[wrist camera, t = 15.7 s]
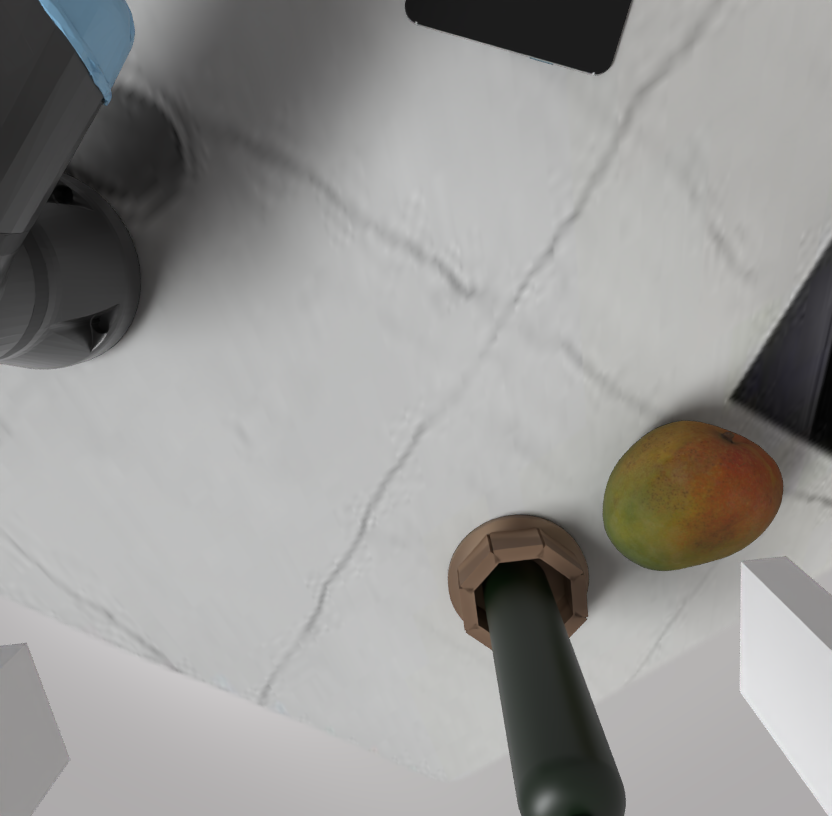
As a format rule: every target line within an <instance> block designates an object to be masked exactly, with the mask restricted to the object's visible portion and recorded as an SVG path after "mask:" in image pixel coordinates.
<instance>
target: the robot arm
mask: <svg viewBox="0 0 832 816" xmlns="http://www.w3.org/2000/svg"><path fill="white" fill-rule="evenodd" d="M134 36H135V28H134V21H133V17H132V13H131V11H130V9H129V7H128V5H127V3H126V1H125V0H0V364H4V365H11V366H17V367H23V368H30V369H57V368H63V367H68V366H72V365H75V364H78V363H81V362H84V361H87V360H90V359H93V358H95V357H97V356H99V355H101V354H103V353H104V352H106V351H107V350H109V349H110V348H111V347H112V346H114V345H115V344H116V343H117V342H118V341H119V340H120V338H121V337H122V336H123V335H124V334H125V332H126V331H127V329H128V328H129V326H130V324H131V322H132V320H133V318H134V315H135V313H136V310H137V306H138V302H139V296H140V268H139V262H138V258H137V254H136V251H135V247H134V245H133V242H132V240H131V237H130V235H129V233H128V231H127V229H126V227H125V226H124V224H123V222H122V221H121V219H120V218H119V216H118V215H117V214H116V212H115V211H114V210H113V209H112V207H111V206H110V205H109V204H108V203H107V202H106V201H105V200H104V199H103V198H102V197H101V196H100V195H99V194H98V193H96V192H95V191H94V190H93V189H91V188H90V187H89V186H87V185H86V184H84V183H82V182H81V181H79V180H77V179H75V178H74V177H72V176H69V175H67V174H65V173H63V172H64V171H65V169H66V167H67V165H68V164H69V162H70V160H71V158H72V156H73V155H74V153H75V151H76V149H77V148H78V146H79V144H80V142H81V141H82V139H83V137H84V135H85V134H86V132H87V130H88V128H89V127H90V125H91V123H92V121H93V120H94V118H95V116H96V114H97V113H98V111H99V109H100V107H101V106H102V104H103V105H105V106H107V105H108V104H109V102H110V101H111V98H112V93H111V88H112V86H113V84H114V82H115V80H116V78H117V76H118V74H119V72H120V70H121V68H122V66H123V64H124V62H125V60H126V58H127V56H128V54H129V52H130V50H131V48H132V46H133V42H134ZM740 628H741V629H740V692H741V694H742V695H743V696H744V698H745V699H746V701H747V702H748V703H749V705H750V706H751V708H752V709H753V710H754V712H755V713H756V714H757V716H758V718H759V719H760V720H761V722H762V723H763V725H764V726H765V727H766V729H767V730H768V731H769V733H770V734H771V736H772V737H773V739H774V740H775V741H776V743H777V744H778V746H779V747H780V748H781V750H782V751H783V753H784V754H785V755H786V757H787V758H788V760H789V761H790V762H791V764H792V765H793V767H794V768H795V769H796V771H797V772H798V774H799V775H800V777H801V778H802V779H803V781H804V782H805V784H806V785H807V786H808V788H809V789H810V791H811V792H812V793H813V795H814V796H815V797H816V799H817V800H818V802H819V803H820V804H821V806H822V807H823V808H824V810H825V812H826V813H827V814H828V816H832V595H831V594H830V593H828V592H827V591H826V590H825V589H824V588H823V587H821V586H820V585H819V584H818V583H817V582H816V581H814V580H813V579H812V578H811V577H810V576H808V575H807V574H806V573H805V572H804V571H803V570H801V569H800V568H799V567H798V566H797V565H796V564H794V563H793V562H792V561H791V560H790V559H788V558H787V557H786V556H783V557H775V558H766V559H757V560H748V561H741V618H740ZM69 761H70V757H69V755H68V752H67V749H66V747H65V744H64V741H63V739H62V736H61V733H60V731H59V728H58V725H57V723H56V720H55V717H54V715H53V712H52V709H51V707H50V705H49V701H48V698H47V696H46V693H45V690H44V688H43V685H42V682H41V680H40V677H39V674H38V672H37V669H36V666H35V664H34V661H33V658H32V656H31V653H30V650H29V648H28V646H27V643H21V644H12V645H3V646H0V816H31V815H32V814H33V812H34V811H35V810H36V808H37V807H38V805H39V804H40V802H41V801H42V800H43V798H44V797H45V795H46V794H47V792H48V791H49V790H50V788H51V787H52V785H53V784H54V782H55V781H56V779H57V778H58V777H59V775H60V774H61V772H62V771H63V769H64V768H65V767H66V765H67V764H68V762H69Z"/></svg>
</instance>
